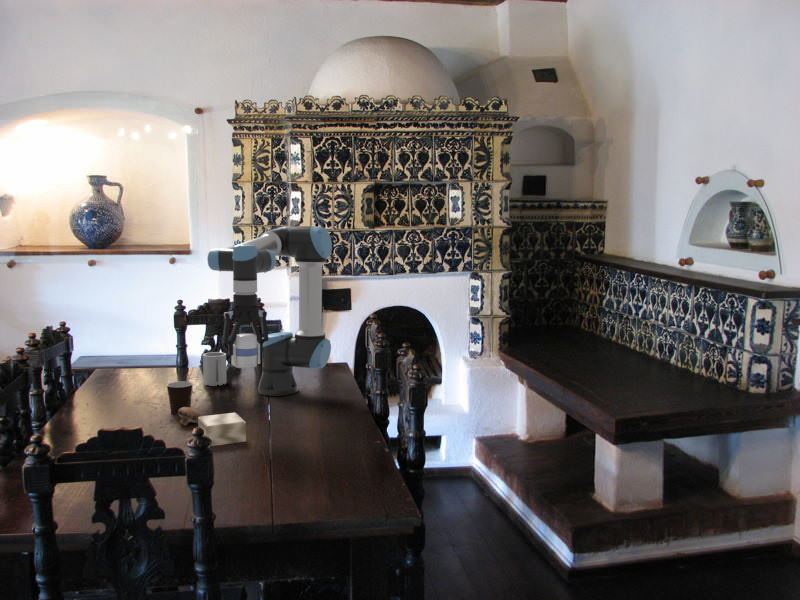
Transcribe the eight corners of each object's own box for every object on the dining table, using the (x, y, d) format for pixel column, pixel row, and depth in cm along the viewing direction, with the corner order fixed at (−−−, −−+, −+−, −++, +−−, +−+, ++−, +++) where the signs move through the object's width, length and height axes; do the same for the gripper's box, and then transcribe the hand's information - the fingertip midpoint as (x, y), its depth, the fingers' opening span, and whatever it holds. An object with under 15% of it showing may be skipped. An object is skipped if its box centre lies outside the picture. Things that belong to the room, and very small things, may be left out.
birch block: (236, 430, 243) (235, 412, 242) (246, 441, 232) (245, 421, 231) (198, 435, 237) (198, 416, 236) (206, 446, 227) (206, 426, 226)
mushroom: (175, 419, 243) (183, 402, 246) (170, 422, 250) (179, 405, 253) (197, 429, 245) (205, 412, 248) (193, 432, 252) (201, 415, 255)
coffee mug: (186, 416, 259) (185, 387, 257) (163, 414, 260) (162, 386, 259) (201, 407, 270) (200, 380, 269) (179, 406, 272) (178, 378, 270)
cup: (216, 379, 313) (215, 351, 312) (231, 382, 308) (230, 354, 306) (198, 383, 306) (198, 354, 304) (213, 386, 301) (213, 357, 299)
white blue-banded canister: (253, 363, 247) (253, 333, 246) (260, 367, 240) (259, 336, 239) (232, 364, 243) (231, 334, 242) (237, 369, 237) (237, 337, 236)
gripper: (272, 291, 247) (272, 359, 250) (210, 293, 238) (211, 364, 241) (279, 293, 240) (279, 363, 243) (216, 295, 231) (217, 368, 234)
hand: (245, 364), depth 242 cm, fingers closed on white blue-banded canister, 7 cm apart
